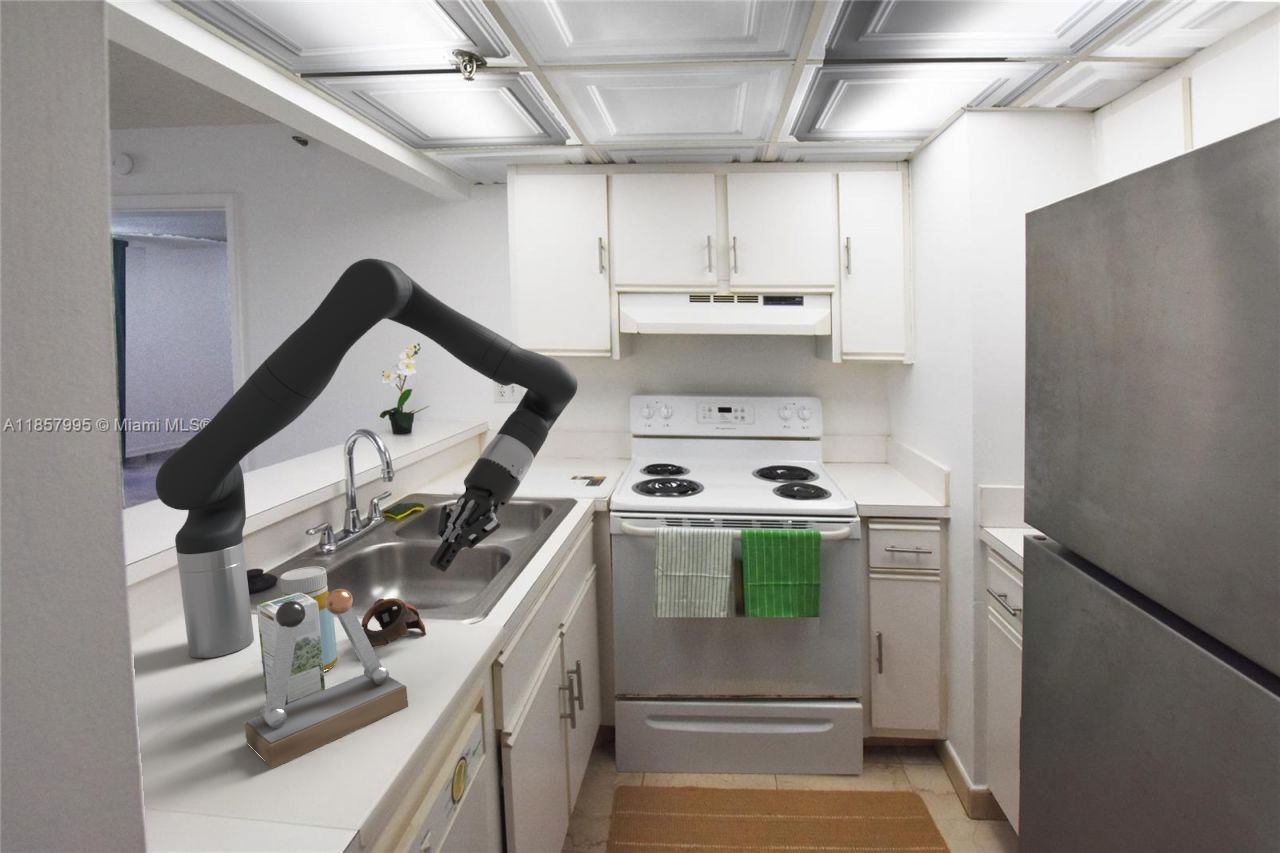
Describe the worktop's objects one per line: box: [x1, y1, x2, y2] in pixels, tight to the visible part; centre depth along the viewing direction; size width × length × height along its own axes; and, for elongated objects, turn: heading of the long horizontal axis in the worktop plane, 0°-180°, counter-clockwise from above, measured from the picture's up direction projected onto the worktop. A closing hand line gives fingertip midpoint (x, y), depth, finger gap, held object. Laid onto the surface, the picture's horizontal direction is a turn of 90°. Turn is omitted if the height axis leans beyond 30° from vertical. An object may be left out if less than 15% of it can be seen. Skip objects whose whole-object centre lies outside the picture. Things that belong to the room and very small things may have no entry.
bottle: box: [279, 566, 338, 670], centre depth 101 cm, size 7×7×15 cm
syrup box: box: [256, 593, 326, 705], centre depth 91 cm, size 6×6×14 cm
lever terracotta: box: [326, 588, 390, 685], centre depth 88 cm, size 3×3×15 cm
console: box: [244, 673, 409, 769], centre depth 85 cm, size 8×17×3 cm, turn 139°
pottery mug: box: [360, 597, 427, 649], centre depth 111 cm, size 12×10×8 cm
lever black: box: [259, 601, 305, 728], centre depth 81 cm, size 3×3×15 cm
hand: (436, 568), depth 96 cm, fingers closed
